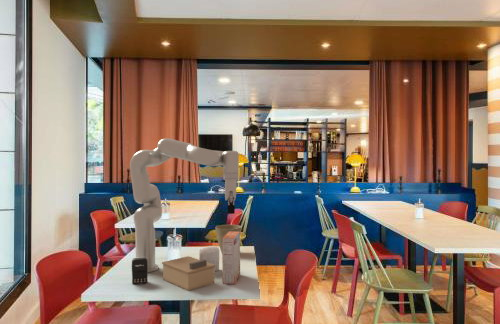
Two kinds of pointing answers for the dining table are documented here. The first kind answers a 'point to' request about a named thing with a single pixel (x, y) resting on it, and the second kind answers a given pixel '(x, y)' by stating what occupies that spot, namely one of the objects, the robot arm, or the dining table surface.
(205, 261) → the lid
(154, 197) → the robot arm
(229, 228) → the plant pot
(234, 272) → the cracker box
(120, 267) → the dining table surface
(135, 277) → the battery charger
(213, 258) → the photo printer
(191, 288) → the mailer box
